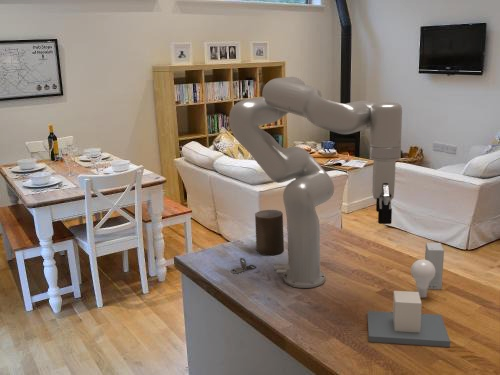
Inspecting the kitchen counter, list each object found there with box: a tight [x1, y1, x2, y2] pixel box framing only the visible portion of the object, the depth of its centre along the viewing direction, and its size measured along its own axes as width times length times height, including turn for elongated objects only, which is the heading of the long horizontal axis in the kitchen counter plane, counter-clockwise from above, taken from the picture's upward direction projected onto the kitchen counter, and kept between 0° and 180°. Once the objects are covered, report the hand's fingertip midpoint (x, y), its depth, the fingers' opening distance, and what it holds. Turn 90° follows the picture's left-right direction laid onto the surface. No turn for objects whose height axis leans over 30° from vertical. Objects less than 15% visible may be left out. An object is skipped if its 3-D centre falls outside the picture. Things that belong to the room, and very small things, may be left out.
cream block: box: [392, 290, 422, 333], centre depth 119 cm, size 6×6×8 cm
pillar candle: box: [254, 209, 285, 257], centre depth 172 cm, size 10×10×15 cm
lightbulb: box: [410, 258, 436, 299], centre depth 135 cm, size 6×6×11 cm
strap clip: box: [230, 257, 257, 275], centre depth 159 cm, size 8×3×4 cm, turn 122°
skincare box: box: [424, 242, 445, 290], centre depth 142 cm, size 6×4×12 cm
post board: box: [366, 310, 451, 348], centre depth 120 cm, size 18×12×8 cm, turn 79°
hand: (383, 217), depth 129 cm, fingers open, 9 cm apart
